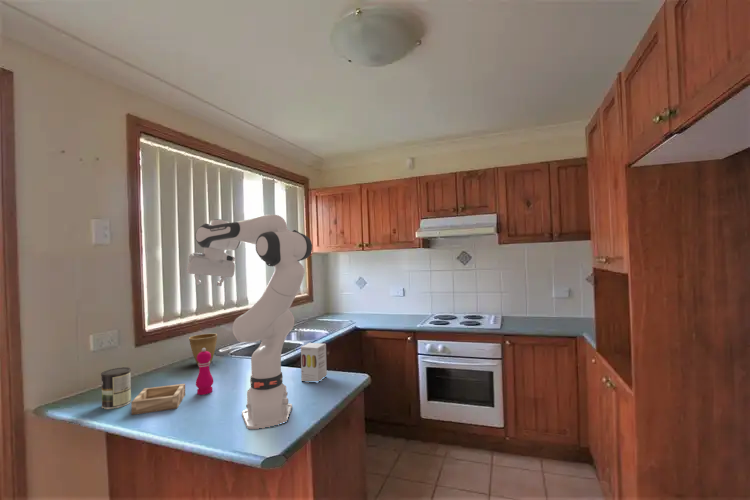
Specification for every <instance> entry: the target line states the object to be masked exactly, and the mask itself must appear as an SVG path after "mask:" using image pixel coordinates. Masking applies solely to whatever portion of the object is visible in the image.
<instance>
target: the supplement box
mask: <svg viewBox="0 0 750 500" xmlns="http://www.w3.org/2000/svg"><path fill="white" fill-rule="evenodd" d="M300 365H301V366H300V371H301V372H300V373H301V375H300V377H301V381H319V380H321V379H322V378H323V377H325V376H326V375H328V374H327V373H328V372H327V344H326V343H321V342H319V343H318V342H317V343H316V342H308V343H306V344H304V345H302V346H301V347H300Z"/></svg>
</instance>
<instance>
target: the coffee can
mask: <svg viewBox="0 0 750 500" xmlns="http://www.w3.org/2000/svg"><path fill="white" fill-rule="evenodd" d="M131 370H132V368H131V367H129V366H127V367H115V368H110V369H108V370H104V371H103V372H101V373H100V376H101V377H100V378H101V409H103V408H104V409H103V410H114V408H115V409H118V408H121V407H125V406H127V405H129V404H131V402H132V392H131V391H132V388H131V387H132V386H131V383H132V382H131V381H132V380H131Z"/></svg>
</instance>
